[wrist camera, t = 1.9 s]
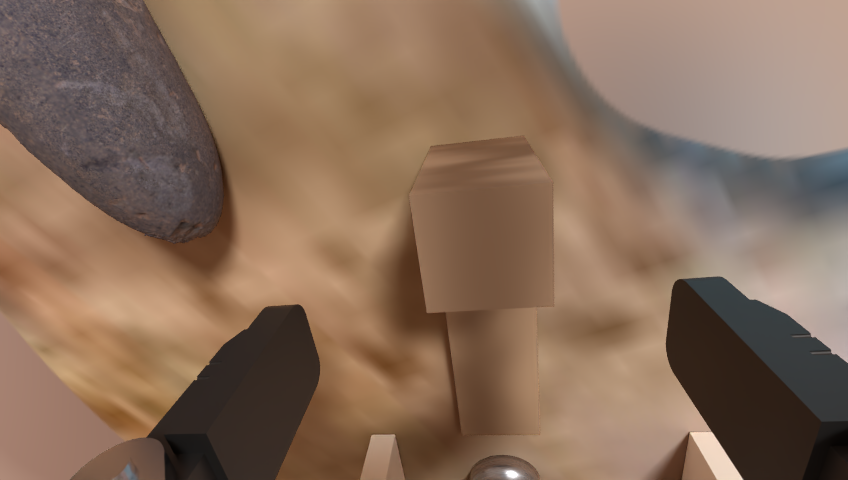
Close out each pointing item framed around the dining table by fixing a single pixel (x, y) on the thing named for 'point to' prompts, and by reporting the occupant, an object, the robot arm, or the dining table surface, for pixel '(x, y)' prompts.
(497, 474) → the silver metal dome
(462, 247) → the brown l-shaped block
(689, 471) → the shelf
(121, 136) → the perforated stone tool
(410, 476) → the dining table surface
